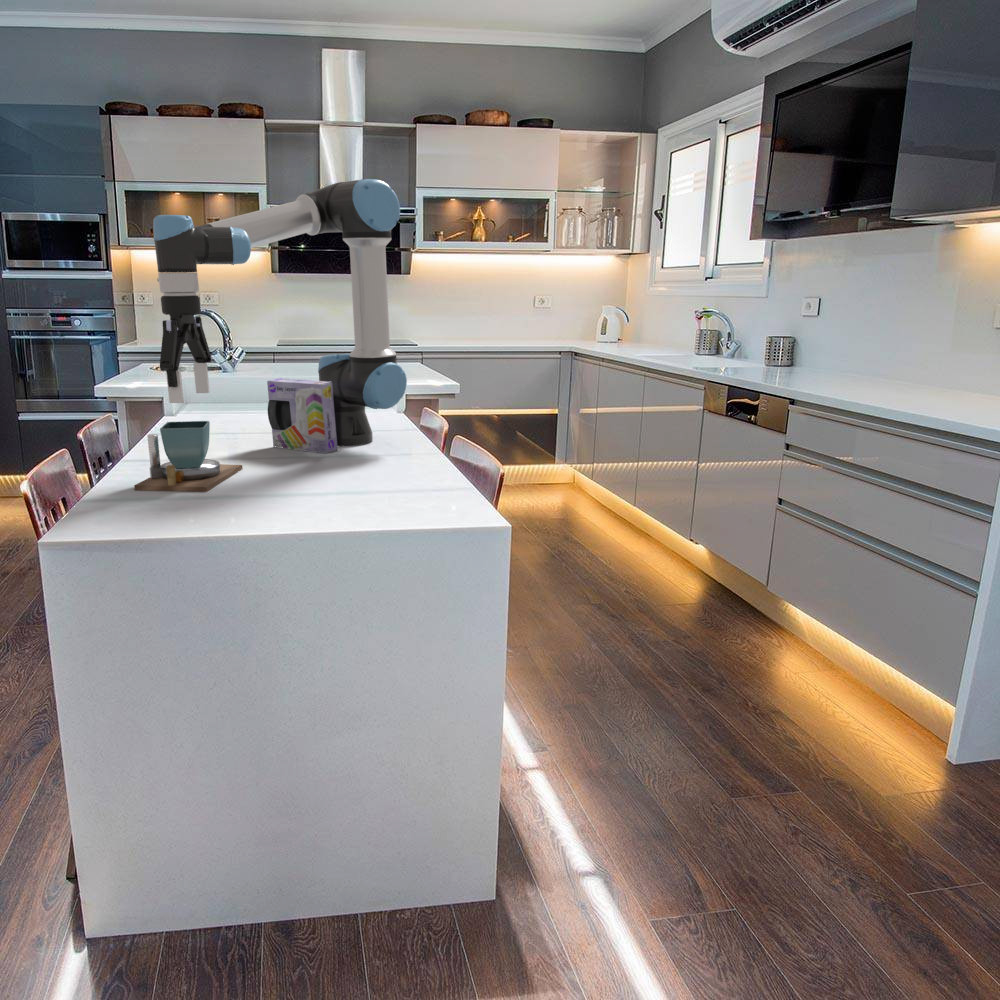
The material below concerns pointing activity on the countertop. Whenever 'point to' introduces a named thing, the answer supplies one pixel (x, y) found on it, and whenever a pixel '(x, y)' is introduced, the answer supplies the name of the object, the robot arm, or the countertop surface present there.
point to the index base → (187, 485)
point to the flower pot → (186, 442)
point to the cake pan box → (302, 414)
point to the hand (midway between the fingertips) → (190, 397)
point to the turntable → (158, 471)
